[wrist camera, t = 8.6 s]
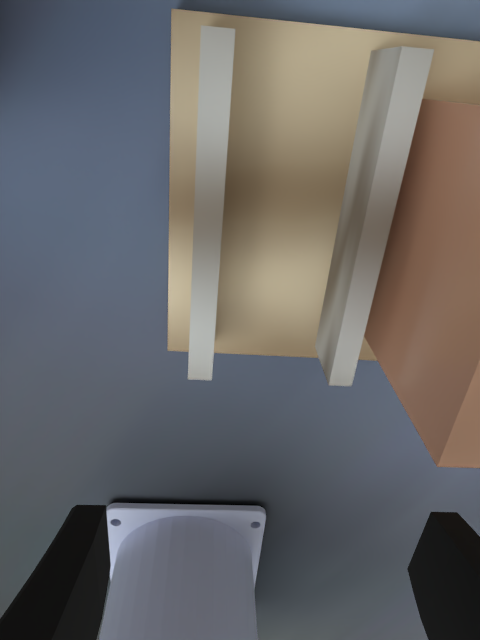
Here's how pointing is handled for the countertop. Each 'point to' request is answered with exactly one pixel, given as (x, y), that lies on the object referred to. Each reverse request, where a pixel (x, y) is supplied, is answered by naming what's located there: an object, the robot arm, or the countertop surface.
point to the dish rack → (290, 179)
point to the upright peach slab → (435, 285)
